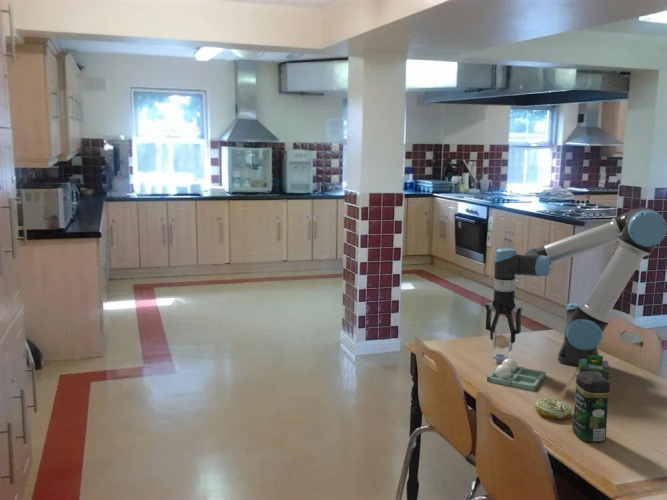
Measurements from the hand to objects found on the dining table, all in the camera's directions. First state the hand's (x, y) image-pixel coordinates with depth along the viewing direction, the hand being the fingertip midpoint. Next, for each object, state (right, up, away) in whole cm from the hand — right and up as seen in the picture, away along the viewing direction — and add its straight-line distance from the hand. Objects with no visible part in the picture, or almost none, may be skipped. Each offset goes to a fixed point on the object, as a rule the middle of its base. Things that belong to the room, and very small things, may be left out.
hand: (502, 349), depth 234 cm
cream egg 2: (-5, -8, -17) cm, 19 cm away
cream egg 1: (-1, -7, -11) cm, 13 cm away
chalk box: (+22, -11, -29) cm, 38 cm away
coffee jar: (+9, -16, -57) cm, 60 cm away
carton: (+1, -9, -16) cm, 18 cm away
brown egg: (0, 0, 0) cm, 0 cm away
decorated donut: (+4, -14, -42) cm, 44 cm away
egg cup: (-1, -6, +1) cm, 6 cm away
